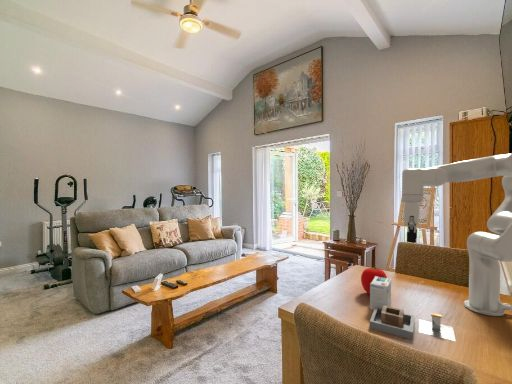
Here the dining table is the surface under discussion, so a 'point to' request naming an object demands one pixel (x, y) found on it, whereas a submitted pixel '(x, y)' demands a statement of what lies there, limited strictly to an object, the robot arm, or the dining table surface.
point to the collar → (392, 316)
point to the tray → (401, 332)
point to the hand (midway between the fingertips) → (411, 240)
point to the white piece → (436, 328)
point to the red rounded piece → (370, 277)
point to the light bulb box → (380, 292)
